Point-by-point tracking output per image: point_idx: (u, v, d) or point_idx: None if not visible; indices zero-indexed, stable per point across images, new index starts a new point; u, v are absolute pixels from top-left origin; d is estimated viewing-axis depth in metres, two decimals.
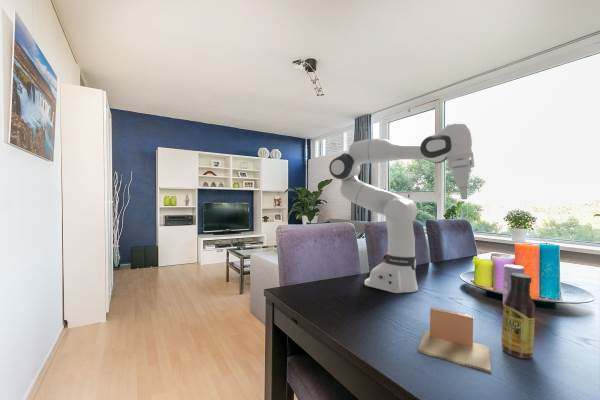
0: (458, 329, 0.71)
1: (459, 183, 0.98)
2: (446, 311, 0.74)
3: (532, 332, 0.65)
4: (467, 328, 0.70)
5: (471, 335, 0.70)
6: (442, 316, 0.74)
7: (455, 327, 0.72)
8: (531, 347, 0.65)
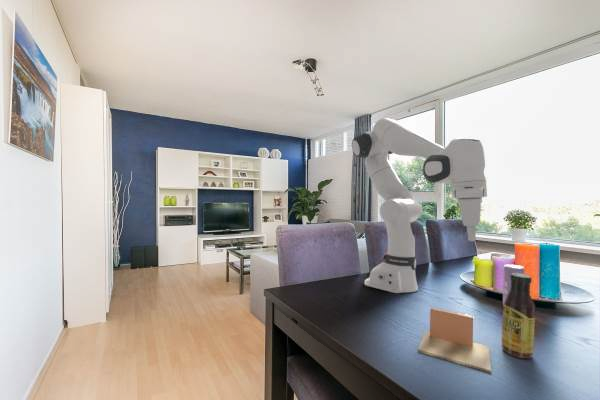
0: (458, 329, 0.71)
1: (467, 221, 0.72)
2: (446, 311, 0.74)
3: (532, 332, 0.65)
4: (467, 328, 0.70)
5: (471, 335, 0.70)
6: (442, 316, 0.74)
7: (455, 327, 0.72)
8: (531, 347, 0.65)
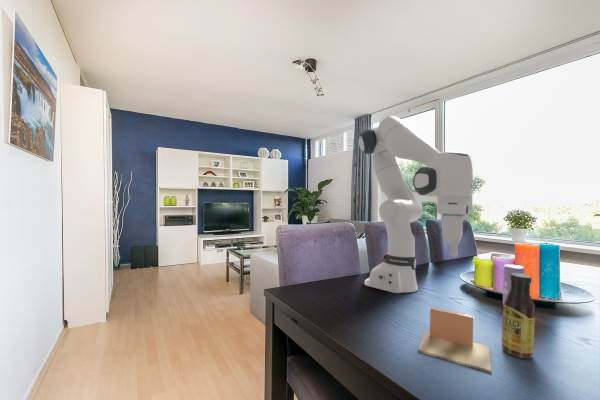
0: (458, 329, 0.71)
1: (447, 239, 0.70)
2: (446, 311, 0.74)
3: (532, 332, 0.65)
4: (467, 328, 0.70)
5: (471, 335, 0.70)
6: (442, 316, 0.74)
7: (455, 327, 0.72)
8: (531, 347, 0.65)
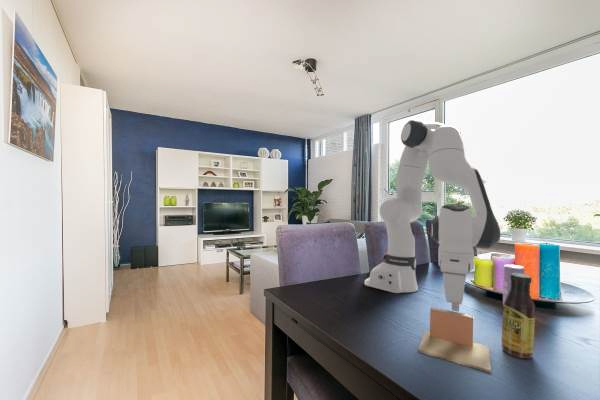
0: (458, 329, 0.71)
1: (450, 298, 0.70)
2: (446, 311, 0.74)
3: (532, 332, 0.65)
4: (467, 328, 0.70)
5: (471, 335, 0.70)
6: (442, 316, 0.74)
7: (455, 327, 0.72)
8: (531, 347, 0.65)
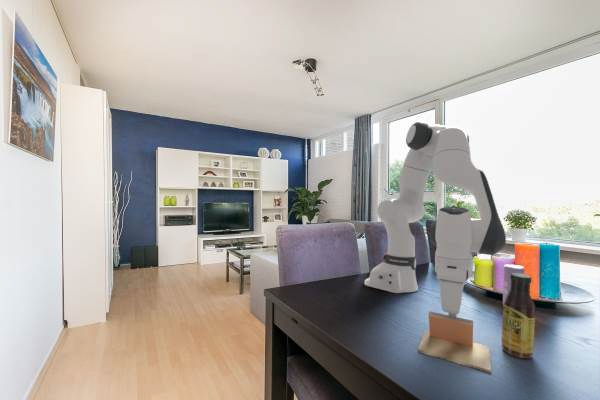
0: (458, 333, 0.70)
1: (446, 308, 0.65)
2: (445, 317, 0.71)
3: (532, 332, 0.65)
4: (467, 333, 0.69)
5: (470, 338, 0.69)
6: (441, 322, 0.71)
7: (455, 331, 0.70)
8: (531, 347, 0.65)
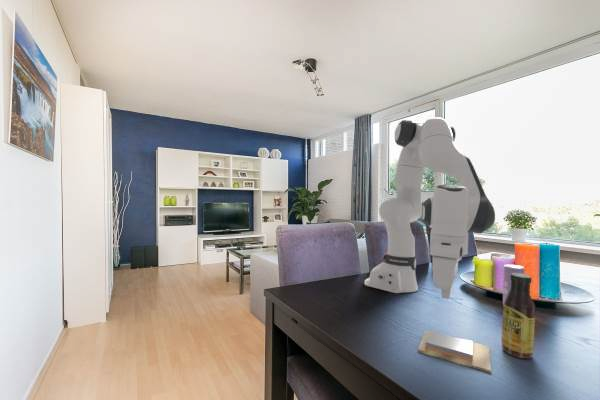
0: None
1: (438, 284, 0.65)
2: (442, 350, 0.67)
3: (532, 332, 0.65)
4: None
5: None
6: None
7: None
8: (531, 347, 0.65)
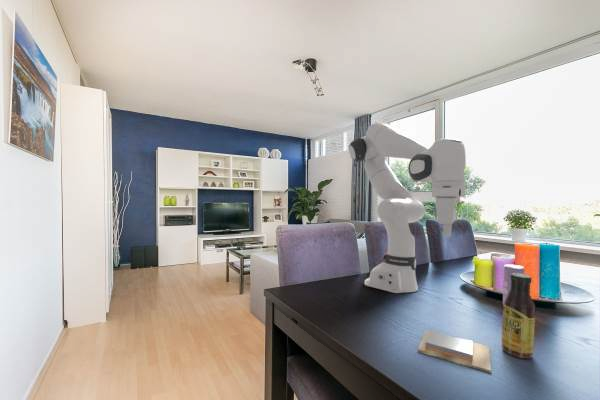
0: None
1: (441, 219, 0.75)
2: (442, 350, 0.67)
3: (532, 332, 0.65)
4: None
5: None
6: None
7: None
8: (531, 347, 0.65)
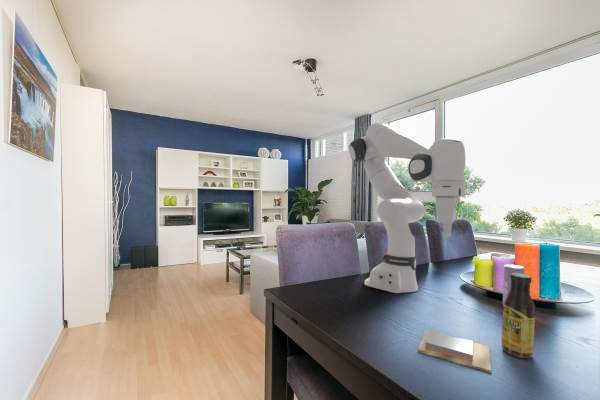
0: None
1: (441, 219, 0.75)
2: (442, 350, 0.67)
3: (532, 332, 0.65)
4: None
5: None
6: None
7: None
8: (531, 347, 0.65)
